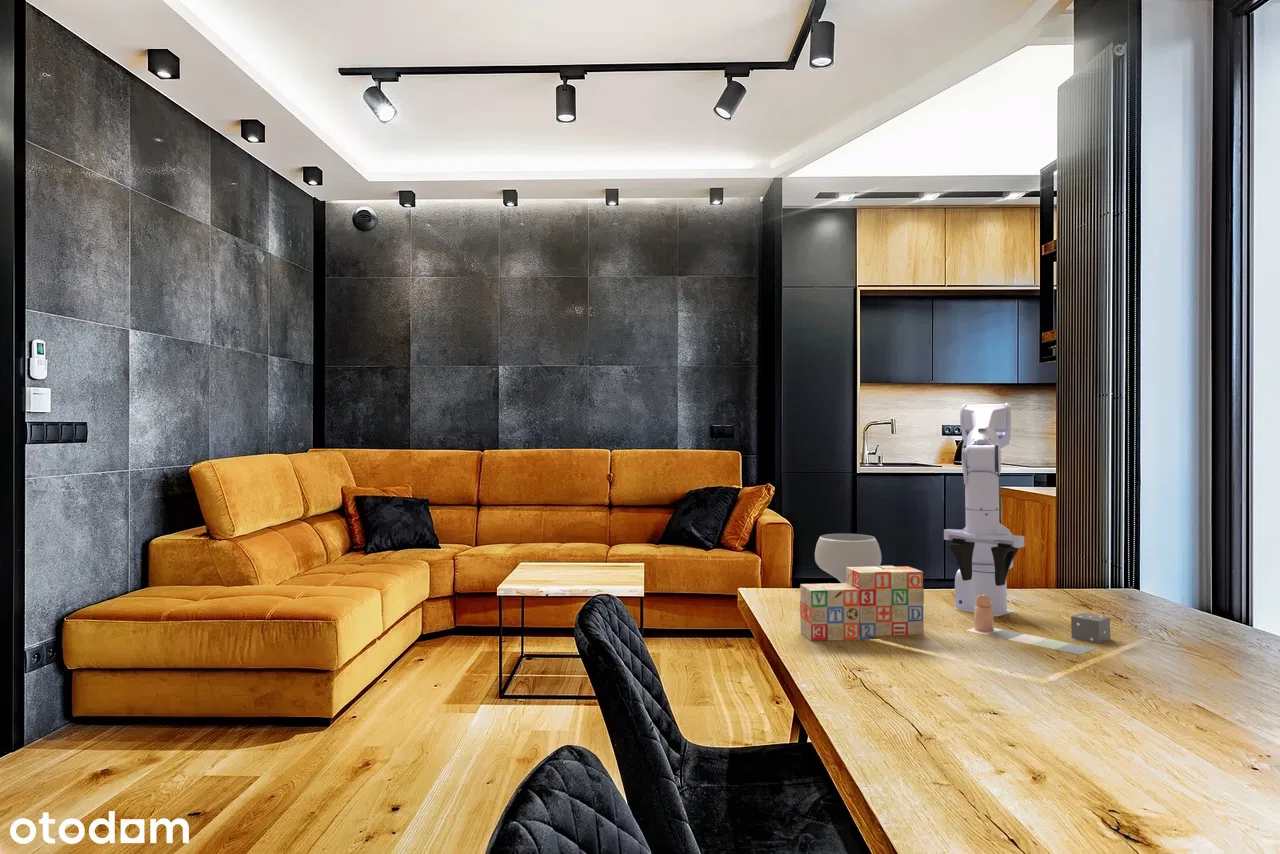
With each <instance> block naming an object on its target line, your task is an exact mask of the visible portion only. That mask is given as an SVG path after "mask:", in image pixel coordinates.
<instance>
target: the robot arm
mask: <svg viewBox="0 0 1280 854" xmlns="http://www.w3.org/2000/svg"><path fill="white" fill-rule="evenodd" d="M1011 407H1012V406H1011V405H1010V403H1009V402H1005V403H990V404H989V403H985V404H984V403H983V404H965V403H963V404H962V405H961V406H960V408H959V409H960V411H959V412H960V414H959V421H960V422H959V423H960V430H961V437H962V439H961V440H962V441H963V445H964V446H965V447H962V450H961V451H962V452H961V469H962V474H963V484H964V486H965V488H964V494H965V495H964V497H965V498H964V499H965V500H964V501H965V527H964V528H962V529H953V528H947V529H943V540H945V541H951V542H950V543H949V544H948V547H949V549H950V550H951V552H952V555H953V556H954V557H955V561H956V562H957V565H958V568H959V569H958V570H957V571H956V574H955V577H954V603H955V604H954V607H953V609H955V610H960V611H966V612H970V613H974V605H976V602H975V600H976V597H977V596H978V595H981V594H985V595H988V596H989V597H990V598H991V600H992V605H991V606H993V617H1000V616H1003V615H1007V614H1010V613H1013V612H1016V610H1014V609H1009V608H1008V603H1007V602H1008V599H1007V597H1008V596H1007V595H1008V594H1007V593H1008V592H1007V589H1008V588H1007V576H1008V573H1009V570H1012V569H1011V568H1013V567H1014V559H1015V556H1017V555H1016V554H1017V553H1018V551H1019V548H1025V536H1024V535H1018V534H1017V535H1016V534H1015V535H1014V534H1013V532H1011V530H1010V529H1009V528H1007V527H1006V526H1004V525H1003V524H1002V523H1000V495H999V494H1000V491H999V490H1000V485H999V480H1000V479H999V478H1000V477H999V476H1000V475H1001V471H1002V454H1001V453H1002V451H1001V449H1002V448H1005V447H1007V446H1008V445H1010V440H1011V431H1012V411H1011V409H1012V408H1011Z"/></svg>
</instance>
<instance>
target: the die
mask: <svg viewBox="0 0 1280 854" xmlns="http://www.w3.org/2000/svg"><path fill="white" fill-rule="evenodd" d="M1070 618H1071V621H1070V623H1071V626H1070V627H1071V628H1070V629H1071V639H1074V640H1075V639H1076V640H1080V641H1085V642H1091V643H1095V644H1102V643H1104V642H1106V641H1109V640H1111V617H1108V616H1103V615H1098V614H1094V613H1093V614H1092V613H1086V612H1082V613H1078V614H1075V615H1072V616H1070Z"/></svg>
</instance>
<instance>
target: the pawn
mask: <svg viewBox="0 0 1280 854" xmlns="http://www.w3.org/2000/svg"><path fill="white" fill-rule="evenodd" d="M975 602H976V605H974V612H973V613H974V628H975V630H977V631H980V632H993V631H994V628H995V627H994V616H993V606H991V605H992V600H991V598H990V597H989V596H988V595H985V594H981V595H978V596H977V597H976V600H975Z"/></svg>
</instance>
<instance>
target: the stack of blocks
mask: <svg viewBox="0 0 1280 854" xmlns="http://www.w3.org/2000/svg"><path fill="white" fill-rule="evenodd" d="M799 588H800V591H799V592H800V594H799V596H800V597H799V598H800V600H799V607H800V608H799V612H800V613H799V615H800V618H799V619H800V633H801V634H802V635H804V636H805V637H806V638H807V639H808V640H809V641H813V642H815V641H855V640H856V641H857V640H879V638H878V637H877V636H899V635H901V636H902V635H903V636H904V635H906V636H908V635H909V636H910V635H924V633H925V632H924V626H925V625H924V624H925V623H924V603H925V602H924V600H925V598H924V596H925V590H924V572H923V571H922V570H919V569H917V568H914V567H911V566H907V565H906V566H900V565H899V566H894V565H880V566H877V567H876V566H873V567H846V583H841V582H840V583H831V582H829V583H800V585H799Z"/></svg>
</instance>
